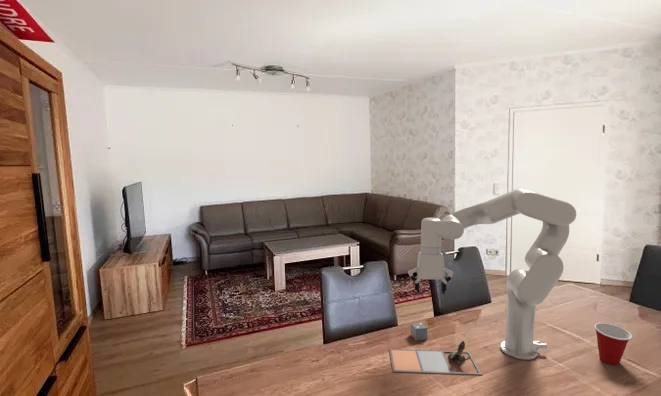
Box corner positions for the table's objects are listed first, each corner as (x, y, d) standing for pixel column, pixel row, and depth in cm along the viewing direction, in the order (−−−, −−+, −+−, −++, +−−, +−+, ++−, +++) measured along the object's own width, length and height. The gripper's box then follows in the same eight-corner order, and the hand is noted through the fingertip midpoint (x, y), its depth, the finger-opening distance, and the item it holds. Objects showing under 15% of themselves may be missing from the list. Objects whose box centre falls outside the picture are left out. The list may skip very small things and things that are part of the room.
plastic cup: (619, 373, 125) (622, 340, 124) (585, 357, 135) (588, 326, 133) (635, 364, 130) (638, 332, 129) (601, 350, 140) (604, 320, 138)
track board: (469, 352, 139) (469, 351, 139) (482, 375, 125) (482, 374, 125) (389, 349, 141) (389, 349, 141) (392, 372, 127) (392, 371, 127)
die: (421, 333, 154) (422, 322, 153) (427, 339, 149) (427, 327, 148) (410, 334, 153) (410, 323, 152) (415, 340, 148) (415, 328, 147)
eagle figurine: (476, 365, 129) (469, 347, 137) (466, 350, 127) (459, 333, 136) (456, 374, 130) (450, 356, 139) (447, 359, 129) (441, 342, 137)
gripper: (451, 247, 144) (450, 289, 146) (407, 247, 146) (406, 288, 148) (456, 252, 137) (455, 296, 139) (409, 252, 138) (408, 295, 141)
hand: (430, 292), depth 143 cm, fingers open, 9 cm apart
